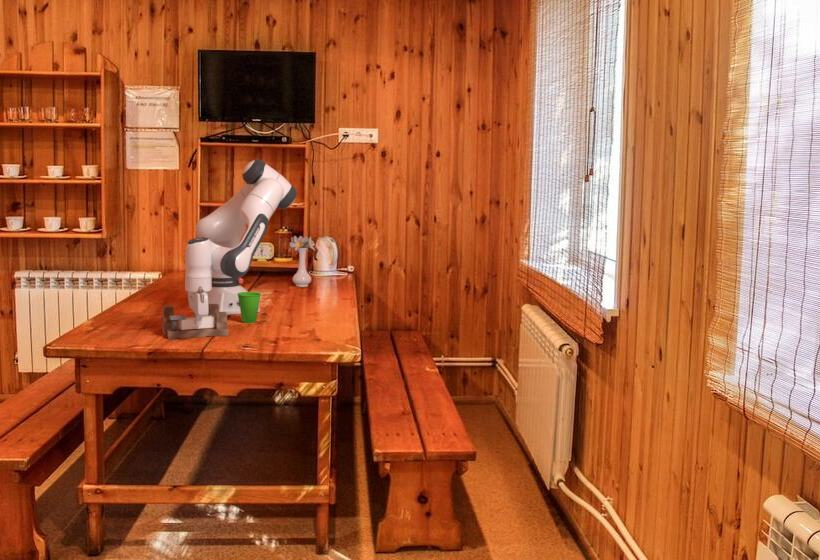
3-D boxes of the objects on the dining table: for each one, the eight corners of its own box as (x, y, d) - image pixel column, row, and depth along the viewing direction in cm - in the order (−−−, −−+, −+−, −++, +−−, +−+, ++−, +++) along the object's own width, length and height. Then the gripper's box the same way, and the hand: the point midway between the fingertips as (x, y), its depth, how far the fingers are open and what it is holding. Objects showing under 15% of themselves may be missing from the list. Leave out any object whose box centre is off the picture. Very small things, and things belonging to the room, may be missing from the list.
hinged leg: (171, 330, 270) (171, 317, 270) (168, 328, 273) (168, 315, 273) (214, 327, 278) (214, 314, 277) (211, 325, 281) (211, 312, 280)
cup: (249, 325, 297) (249, 296, 295) (231, 322, 301) (231, 293, 300) (266, 322, 304) (266, 293, 303) (248, 318, 309) (248, 290, 307)
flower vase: (312, 283, 406) (312, 234, 402) (316, 288, 388) (317, 237, 384) (286, 283, 403) (286, 233, 399) (289, 288, 385) (289, 237, 381)
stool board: (218, 324, 296) (218, 303, 295) (227, 335, 278) (227, 313, 277) (159, 327, 288) (159, 305, 287) (165, 339, 270) (165, 316, 269)
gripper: (213, 289, 264) (213, 330, 266) (203, 281, 282) (203, 319, 284) (193, 289, 261) (193, 331, 263) (184, 281, 280) (185, 320, 282)
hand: (198, 325), depth 274 cm, fingers closed
